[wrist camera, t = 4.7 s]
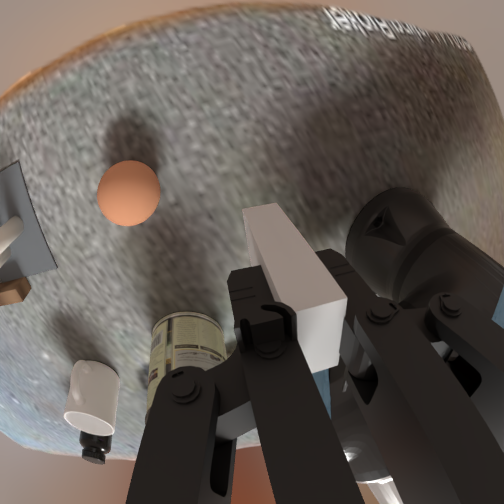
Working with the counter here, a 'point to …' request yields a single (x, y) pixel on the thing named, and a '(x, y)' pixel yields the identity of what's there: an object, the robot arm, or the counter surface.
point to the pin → (5, 256)
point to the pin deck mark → (31, 239)
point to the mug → (92, 398)
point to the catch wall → (14, 291)
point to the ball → (128, 193)
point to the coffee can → (183, 346)
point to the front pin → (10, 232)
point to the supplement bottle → (95, 447)
